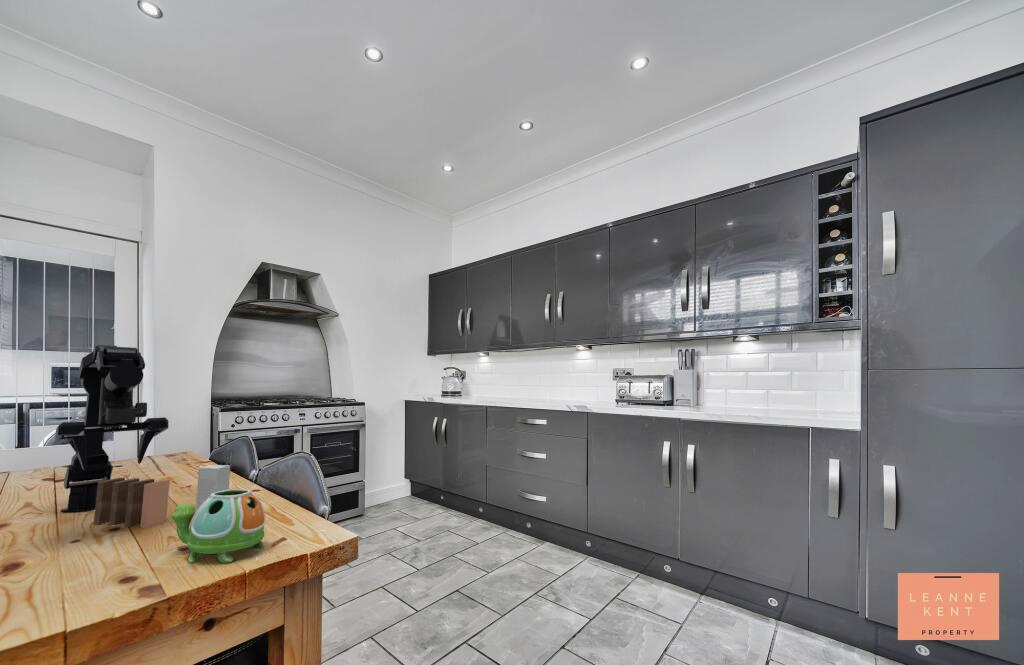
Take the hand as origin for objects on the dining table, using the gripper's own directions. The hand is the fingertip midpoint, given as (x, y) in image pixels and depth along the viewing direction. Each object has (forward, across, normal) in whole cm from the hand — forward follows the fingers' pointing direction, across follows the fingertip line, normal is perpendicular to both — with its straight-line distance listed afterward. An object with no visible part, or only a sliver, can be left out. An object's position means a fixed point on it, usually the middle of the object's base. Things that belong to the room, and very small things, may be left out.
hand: (113, 466), depth 98 cm
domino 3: (+13, +7, +11) cm, 19 cm away
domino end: (+14, +9, +7) cm, 18 cm away
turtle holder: (+22, +13, -24) cm, 35 cm away
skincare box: (+14, +21, +8) cm, 27 cm away
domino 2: (+12, +4, +15) cm, 20 cm away
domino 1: (+11, +2, +19) cm, 22 cm away
